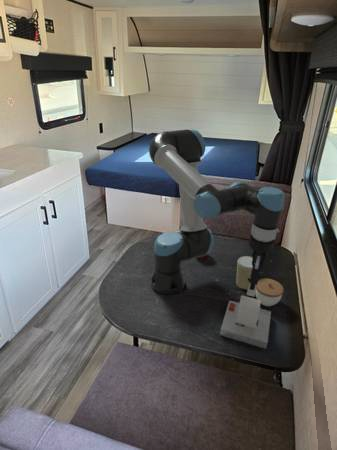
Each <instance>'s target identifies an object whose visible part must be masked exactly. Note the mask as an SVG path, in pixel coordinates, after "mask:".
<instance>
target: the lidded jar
mask: <svg viewBox="0 0 337 450" xmlns="http://www.w3.org/2000/svg"><path fill="white" fill-rule="evenodd" d="M284 290H285V289H284V286H283V285H282V284H281V283H280V282H278V281H277V280H275V279H272V278H267V277H266V278H260V279H258V284H257V287H256V292H255V297H256V298H255V299H258V300H261V304H260V305H262V306H264V307H272V306H275V305H277V304H278V303H280V300H281V299H282V296H283V293H284Z"/></svg>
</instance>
